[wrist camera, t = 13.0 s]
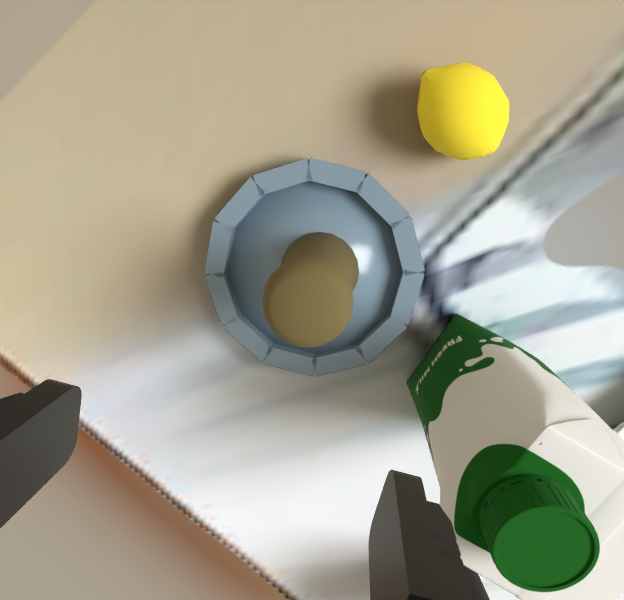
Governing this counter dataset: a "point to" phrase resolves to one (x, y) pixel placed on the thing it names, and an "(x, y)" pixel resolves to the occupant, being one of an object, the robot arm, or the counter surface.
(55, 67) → the counter surface
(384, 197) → the round dish
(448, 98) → the lemon
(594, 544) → the milk carton
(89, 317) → the counter surface
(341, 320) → the tan pawn shape
